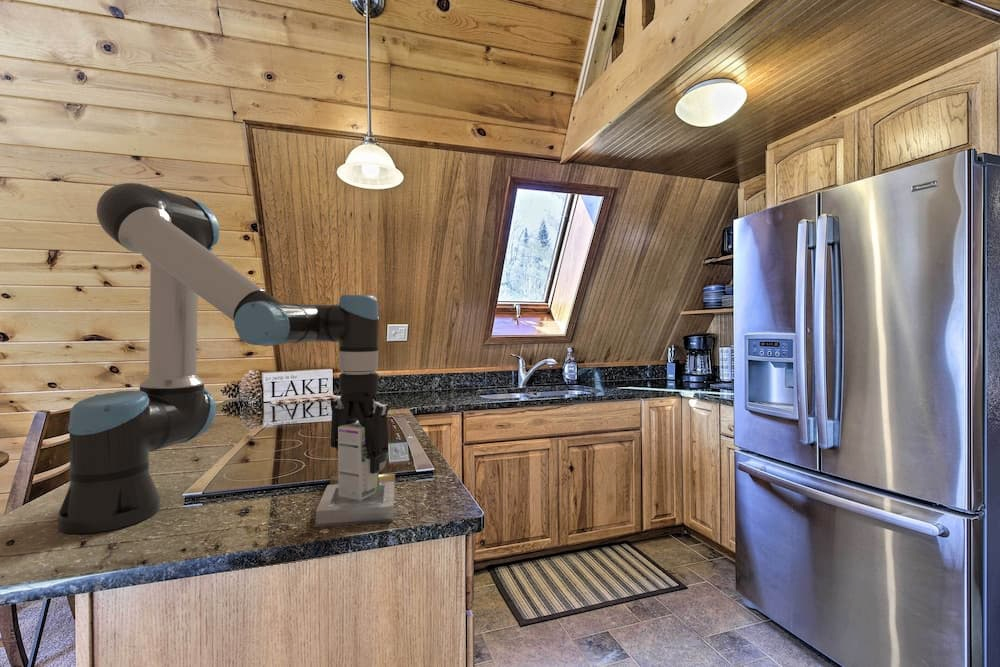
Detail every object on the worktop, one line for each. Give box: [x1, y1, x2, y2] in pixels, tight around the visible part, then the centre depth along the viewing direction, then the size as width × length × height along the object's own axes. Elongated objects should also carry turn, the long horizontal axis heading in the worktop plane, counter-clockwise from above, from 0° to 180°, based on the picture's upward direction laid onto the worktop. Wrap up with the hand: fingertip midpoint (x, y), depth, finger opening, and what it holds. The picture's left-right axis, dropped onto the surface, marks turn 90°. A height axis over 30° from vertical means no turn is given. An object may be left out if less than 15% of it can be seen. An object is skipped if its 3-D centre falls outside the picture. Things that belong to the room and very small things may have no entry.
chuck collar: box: [315, 481, 395, 528], centre depth 96 cm, size 14×14×3 cm
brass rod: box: [329, 473, 396, 488], centre depth 108 cm, size 14×3×3 cm, turn 101°
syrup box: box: [337, 421, 380, 501], centre depth 96 cm, size 6×6×14 cm
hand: (358, 485), depth 96 cm, fingers closed on syrup box, 6 cm apart
